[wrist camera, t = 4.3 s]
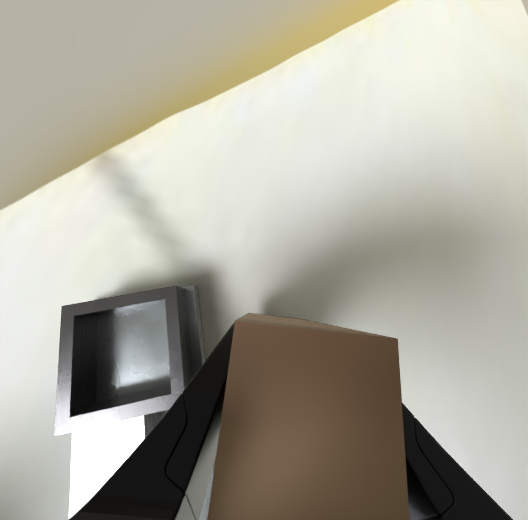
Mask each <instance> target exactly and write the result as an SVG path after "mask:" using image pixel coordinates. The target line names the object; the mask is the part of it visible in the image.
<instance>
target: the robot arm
mask: <svg viewBox="0 0 528 520" xmlns="http://www.w3.org/2000/svg"><path fill="white" fill-rule="evenodd" d="M234 324H235V323H234ZM234 324H233V325H232V326H231V327H230V329H229V330H228V331H227V333H226V334H225V335H224V337H223V338H222V339H221V341H220V342H219V343H218V345H217V346H216V348H215V349H214V350H213V352H212V353H211V354H210V356H209V357H208V358H207V360H206V361H205V362H204V364H203V365H202V366H201V368H200V369H199V370H198V372H197V373H196V374H195V376H194V377H193V378H192V380H191V381H190V382H189V384H188V385H187V386H186V388H185V389H184V390H183V392H182V394H180V396H179V397H178V398H177V400H176V401H175V402H174V404H173V405H172V406H171V407H170V409H169V410H168V411H167V413H166V414H165V415H164V416H163V418H162V419H161V420H160V421H159V423H158V424H157V425H156V426H155V427H154V428H153V430H152V431H151V432H150V433H149V434H148V435H147V437H146V438H145V439H144V440H143V441H142V442H141V443H140V444H139V446H138V447H137V448H136V449H135V450H134V451H133V452H132V453H131V455H130V456H129V457H128V458H127V459H126V460H125V461H124V462H123V463H122V465H121V466H120V467H119V468H118V469H117V470H116V471H115V472H114V474H113V475H112V476H111V477H110V478H109V479H108V480H107V481H106V483H105V484H104V485H103V486H102V487H101V488H100V489H99V490H98V491H97V492H96V493H95V494H94V496H93V497H92V498H91V499H90V500H89V501H88V502H87V503H86V504H85V505H84V506H83V507H82V508H80V509H79V510H78V511H77V512H76V513H75V514H74V515H73V516H72V517H71V518H70V519H68V520H199V518H200V514H201V510H202V507H203V503H204V499H205V495H206V491H207V487H208V484H209V480H210V476H211V472H212V468H213V464H214V461H215V457H216V453H217V446H218V439H219V432H220V425H221V417H222V410H223V403H224V396H225V389H226V382H227V374H228V367H229V360H230V353H231V346H232V339H233V332H234ZM402 413H403V428H404V444H405V459H406V474H407V489H408V504H409V520H513V519H512V518H511V517H510V516H509V515H508V514H507V513H506V512H505V511H504V510H503V509H502V508H501V507H500V506H499V505H498V504H497V503H496V502H495V501H494V500H493V499H492V498H491V497H490V496H489V495H488V494H487V493H486V492H485V491H484V490H483V489H482V488H481V487H480V486H479V485H478V484H477V483H476V482H475V481H474V480H473V479H472V478H471V477H470V476H469V475H468V474H467V473H466V472H465V471H464V470H463V468H462V467H461V466H460V465H459V464H458V463H457V462H456V461H455V460H454V459H453V458H452V457H451V456H450V455H449V454H448V453H447V452H446V451H445V450H444V449H443V448H442V447H441V445H440V444H439V443H438V442H437V441H436V440H435V439H434V438H433V437H432V436H431V434H430V433H429V432H428V431H427V430H426V429H425V428H424V427H423V426H422V424H421V423H420V422H419V421H418V420H417V419H416V418H414V416H413V414H412V413H411V412H410V411H409V410H408V409H407V408H406V406H405V405H404V404H403V403H402Z"/></svg>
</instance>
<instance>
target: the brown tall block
mask: <svg viewBox="0 0 528 520" xmlns="http://www.w3.org/2000/svg"><path fill="white" fill-rule="evenodd" d="M207 520H409V504H408V489H407V474H406V459H405V444H404V428H403V413H402V398H401V383H400V368H399V353H398V339H396V338H391V337H386V336H382V335H377V334H372V333H367V332H362V331H357V330H352V329H347V328H342V327H337V326H333V325H328V324H323V323H318V322H313V321H308V320H303V319H298V318H289V317H280V316H271V315H262V314H253V313H248V314H246V315H244V316H242V317H241V318H239V319H237V320H236V321H235V324H234V332H233V339H232V346H231V353H230V360H229V367H228V374H227V382H226V389H225V396H224V403H223V410H222V417H221V425H220V432H219V439H218V446H217V453H216V460H215V467H214V475H213V482H212V489H211V496H210V503H209V510H208V517H207Z"/></svg>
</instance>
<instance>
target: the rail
mask: <svg viewBox="0 0 528 520" xmlns="http://www.w3.org/2000/svg"><path fill="white" fill-rule="evenodd" d="M204 362H205V352H204V343H203V333H202V324H201V315H200V306H199V296H198V287H197V286H196V285H189V286H184V287H178V286H172V287H166V288H161V289H155V290H150V291H144V292H138V293H133V294H127V295H122V296H116V297H110V298H105V299H99V300H94V301H88V302H83V303H77V304H71V305H66V306H62V311H61V328H60V346H59V363H58V380H57V398H56V415H55V432H54V436H58V435H62V434H67V433H71V432H72V451H71V477H70V502H69V519H70V518H71V517H72V516H73V515H74V514H75V513H76V512H77V511H78V510H79V509H80V508H82V507H83V506H84V505H85V504H86V503H87V502H88V501H89V500H90V499H91V498H92V497H93V496H94V494H95V493H96V492H97V491H98V490H99V489H100V488H101V487H102V486H103V485H104V484H105V483H106V481H107V480H108V479H109V478H110V477H111V476H112V475H113V474H114V472H115V471H116V470H117V469H118V468H119V467H120V466H121V465H122V463H123V462H124V461H125V460H126V459H127V458H128V457H129V456H130V455H131V453H132V452H133V451H134V450H135V449H136V448H137V447H138V446H139V444H140V443H141V442H142V441H143V440H144V439H145V438H146V437H147V435H148V434H149V433H150V432H151V431H152V430H153V428H154V427H155V426H156V425H157V424H158V423H159V421H160V420H161V419H162V418H163V416H164V415H165V414H166V413H167V411H168V410H169V409H170V407H171V406H172V405H173V404H174V402H175V401H176V400H177V398H178V397H179V396H180V394H182V392H183V390H184V389H185V388H186V386H187V385H188V384H189V382H190V381H191V380H192V378H193V377H194V376H195V374H196V373H197V372H198V370H199V369H200V368H201V366H202V365H203V364H204ZM215 460H216V457H215ZM214 467H215V461H214V464H213V468H212V472H211V476H210V480H209V484H208V487H207V491H206V495H205V499H204V503H203V507H202V510H201V514H200V518H199V520H207V517H208V510H209V503H210V496H211V489H212V482H213V475H214Z"/></svg>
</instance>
